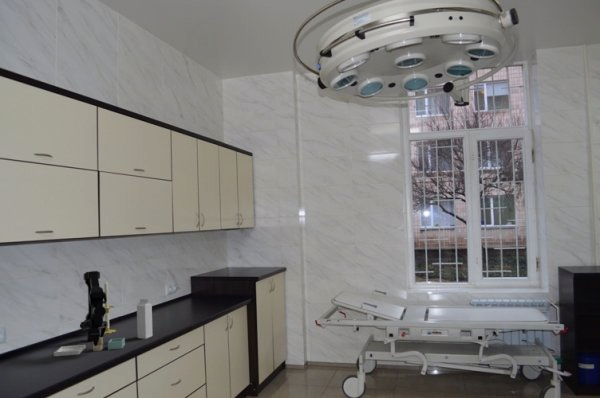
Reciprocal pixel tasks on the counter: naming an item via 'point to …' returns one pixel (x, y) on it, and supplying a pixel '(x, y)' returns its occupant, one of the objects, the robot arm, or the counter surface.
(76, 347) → the dish
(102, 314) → the robot arm
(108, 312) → the candle
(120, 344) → the light blue box
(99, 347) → the beige jar
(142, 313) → the milk
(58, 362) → the counter surface
